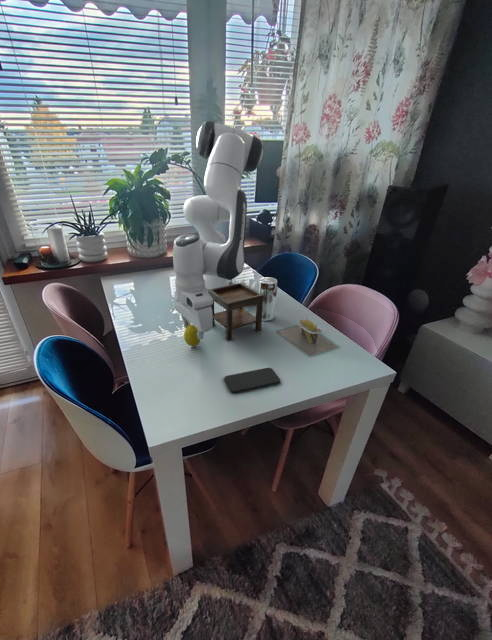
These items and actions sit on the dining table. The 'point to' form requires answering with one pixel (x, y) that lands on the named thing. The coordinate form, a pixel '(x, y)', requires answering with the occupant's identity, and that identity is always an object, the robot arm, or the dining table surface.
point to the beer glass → (268, 296)
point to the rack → (236, 307)
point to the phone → (251, 380)
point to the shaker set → (254, 286)
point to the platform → (307, 338)
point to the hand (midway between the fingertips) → (193, 332)
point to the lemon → (191, 336)
